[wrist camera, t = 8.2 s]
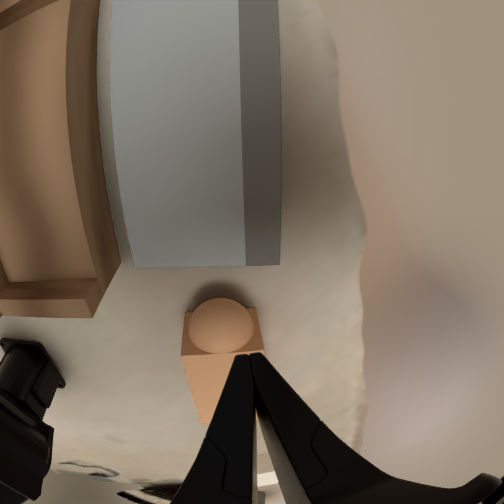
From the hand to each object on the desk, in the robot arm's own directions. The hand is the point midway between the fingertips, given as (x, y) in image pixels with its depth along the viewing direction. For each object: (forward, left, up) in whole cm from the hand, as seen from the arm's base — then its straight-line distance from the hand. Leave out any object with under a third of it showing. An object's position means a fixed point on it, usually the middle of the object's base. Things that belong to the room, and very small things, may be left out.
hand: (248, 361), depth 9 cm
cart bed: (-12, +8, -11) cm, 18 cm away
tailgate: (-6, +8, -10) cm, 14 cm away
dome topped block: (-1, -10, -11) cm, 15 cm away
